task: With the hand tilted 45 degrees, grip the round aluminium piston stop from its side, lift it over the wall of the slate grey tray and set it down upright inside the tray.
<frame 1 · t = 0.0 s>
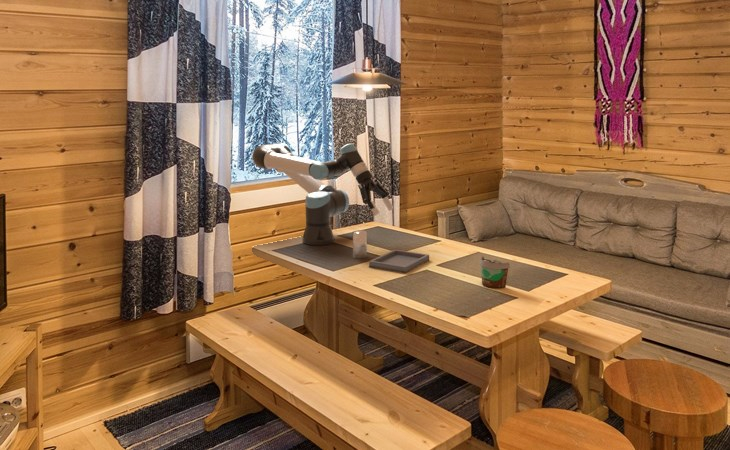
hand: (384, 211, 296), 15 cm above the table, tool tilted 35°, fingers open, 13 cm apart
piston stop: (359, 256, 277), on the table
food container: (490, 286, 236), on the table
slate tray: (399, 263, 266), on the table
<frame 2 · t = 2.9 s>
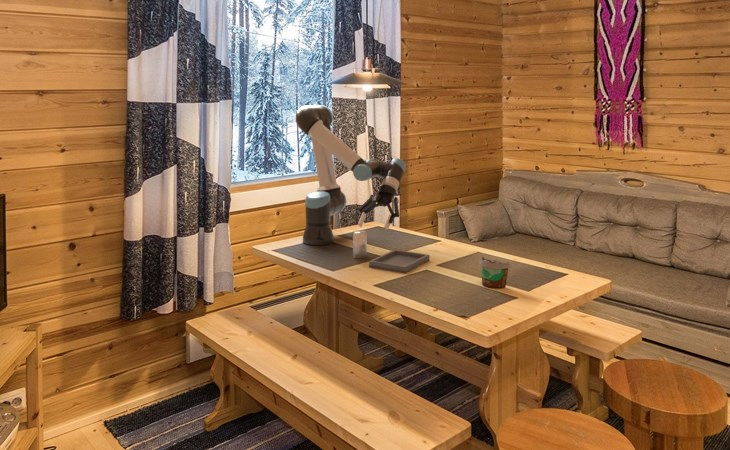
hand: (372, 227, 281), 12 cm above the table, tool tilted 45°, fingers open, 13 cm apart
nothing on the table moved.
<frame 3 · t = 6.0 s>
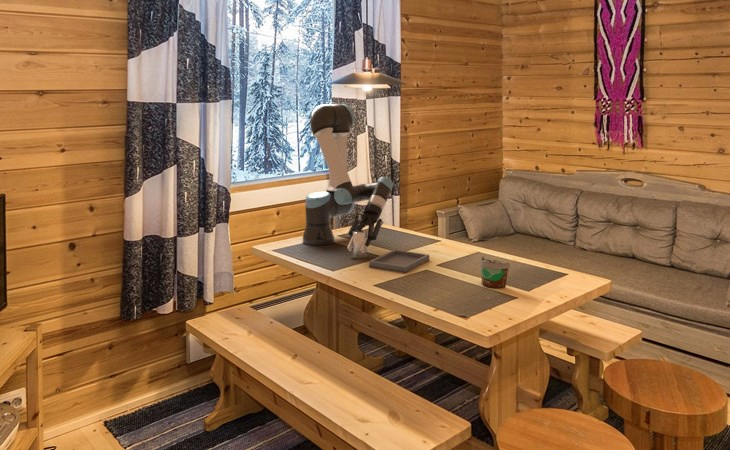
hand: (355, 250, 274), 3 cm above the table, tool tilted 45°, fingers closed on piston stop, 6 cm apart
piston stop: (359, 256, 277), on the table, touching gripper
everything else where it was.
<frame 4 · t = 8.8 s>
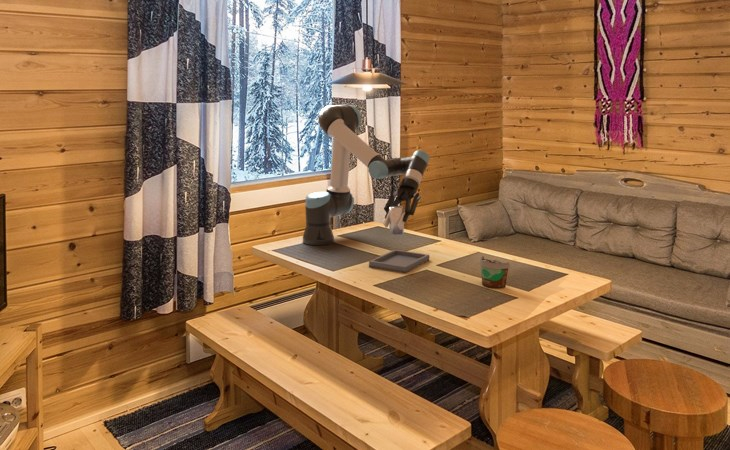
hand: (392, 226, 260), 17 cm above the table, tool tilted 45°, fingers closed on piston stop, 6 cm apart
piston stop: (396, 232, 264), point 13 cm above the table, touching gripper
everything else where it was.
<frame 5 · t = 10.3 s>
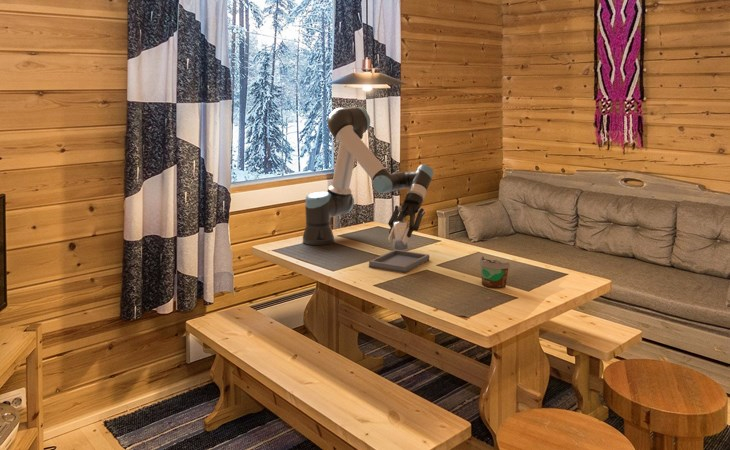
hand: (396, 241, 261), 10 cm above the table, tool tilted 45°, fingers closed on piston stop, 6 cm apart
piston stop: (400, 247, 264), point 7 cm above the table, touching gripper
everything else where it was.
when the fingers open (5 cm above the table, at t = 11.7 s): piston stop drops 1 cm, resting on slate tray.
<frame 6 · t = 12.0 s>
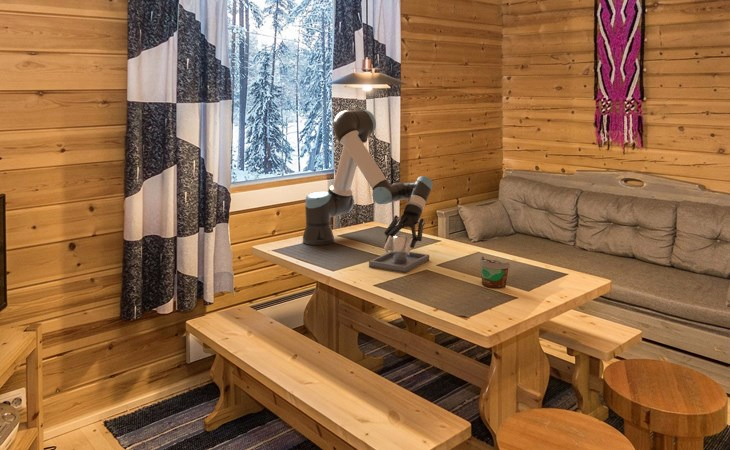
hand: (396, 251, 262), 6 cm above the table, tool tilted 45°, fingers open, 9 cm apart
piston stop: (399, 261, 266), point 1 cm above the table, touching slate tray
everything else where it was.
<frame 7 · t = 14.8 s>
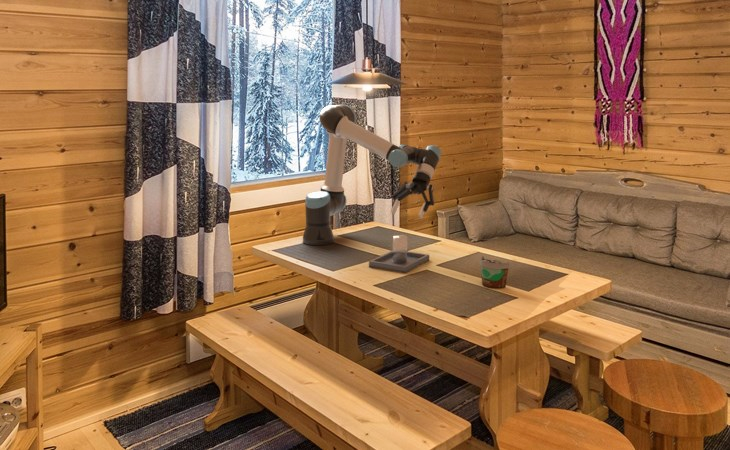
hand: (406, 215, 273), 19 cm above the table, tool tilted 45°, fingers open, 13 cm apart
nothing on the table moved.
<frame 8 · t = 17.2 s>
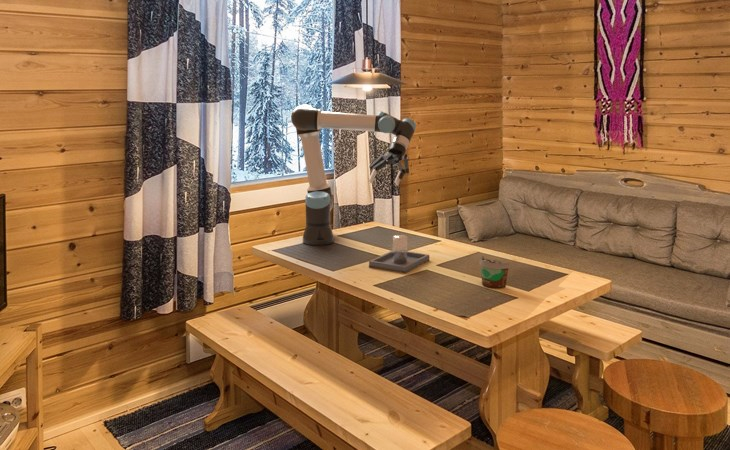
hand: (382, 182, 289), 30 cm above the table, tool tilted 45°, fingers open, 13 cm apart
nothing on the table moved.
at the end: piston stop inside the target area on the slate tray (0.0 cm from its centre), point 0.8 cm above the slate tray's base; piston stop tilted 0°; the gripper is holding nothing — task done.
